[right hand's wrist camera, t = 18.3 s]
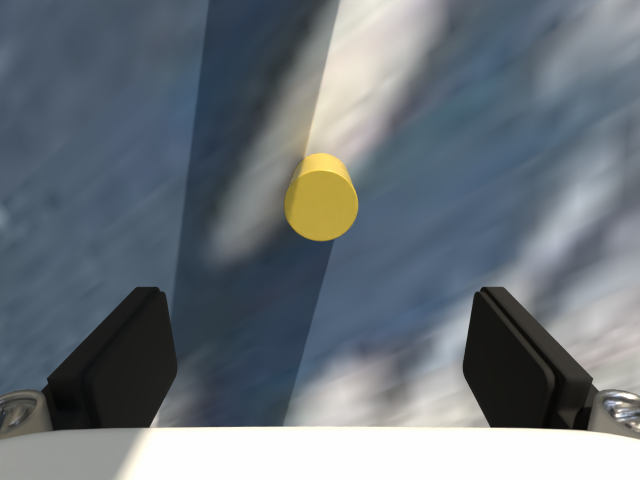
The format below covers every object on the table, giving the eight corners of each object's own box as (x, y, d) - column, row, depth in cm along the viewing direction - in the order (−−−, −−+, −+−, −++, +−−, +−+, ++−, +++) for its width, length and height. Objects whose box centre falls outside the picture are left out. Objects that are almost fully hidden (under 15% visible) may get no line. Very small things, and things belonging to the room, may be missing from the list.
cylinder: (353, 204, 32) (363, 235, 25) (298, 214, 33) (292, 247, 25) (344, 148, 31) (352, 163, 23) (286, 158, 31) (276, 176, 24)
